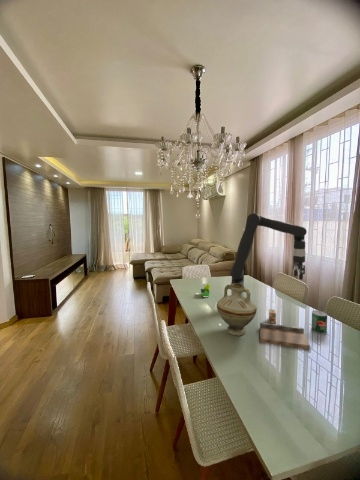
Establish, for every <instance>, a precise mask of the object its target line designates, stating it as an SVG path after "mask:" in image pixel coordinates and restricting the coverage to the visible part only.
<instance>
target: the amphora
mask: <svg viewBox="0 0 360 480" xmlns="http://www.w3.org/2000/svg"><path fill="white" fill-rule="evenodd" d="M229 290H230V291H231V290H232V291H233V294H232V295H231V294H230V295H228V291H229ZM223 292H224V293H223V296H222V297H221V299H219V300H218V301H217V302H216V310H217V312H218V314H219V316H220V318H221V319H222V320H223V322H225V323H226V324H227V325H228V326H227V329H226V332H227V333H228V332H229V334H230V335H232V336H235V335H237V337H240V335H241V336H243V335H245V334H246V328H245V327H246V326H247V325H249V324H250V323H251V322H252V320H254V318H255V316H256V314H257V309H258V307H257V305H256V303H254V302H253V301H252V300H251V291H250V289H249V288H247V287H245V285H242V284H237V283H233V284H231V283H230V284H227V285H226V286H225V287H224V291H223ZM242 292H243V293H246V296H242V295H241V293H242Z"/></svg>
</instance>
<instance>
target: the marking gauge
mask: <svg viewBox="0 0 360 480" xmlns="http://www.w3.org/2000/svg"><path fill="white" fill-rule="evenodd" d="M268 322H269V323H268V324H276V325H277V311H276V309H271V308H270V309H268Z"/></svg>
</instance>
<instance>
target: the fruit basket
mask: <svg viewBox="0 0 360 480" xmlns="http://www.w3.org/2000/svg"><path fill="white" fill-rule="evenodd" d="M210 290H211V285H210V284H209V283H207V284H206V285H204V288H200V293H201V294H200V295H201V297H202V296H208V297H209V296H210Z"/></svg>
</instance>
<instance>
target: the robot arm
mask: <svg viewBox="0 0 360 480" xmlns="http://www.w3.org/2000/svg"><path fill="white" fill-rule="evenodd" d="M245 222H246V223H245V228H244V231H243V233H242V236H241V238H240V239H239V244H238V247H237V250H236V255H235V260H234V262H233V264H232V265H233V266H232V267H231V269H230V276H231V283H230V285H231V284H233V283H237V284H242V285H244V284H245V283H244V282H245V269H244V268H245V264H246V262H247V260H248V257H249V255H250V253H251V251H252V247H253V244H254V239H255V234H256V231H257V228H258V226H259V227H265V228H268V229H271V230H274V231H277V232H280V233H285V234H290V235H293V250H292V270H293V276H294V277H298V280H301V281H303V280H304V279H303V278H304V275H305V274H306V265H305V264H304V265H303V263H305V262H306V241H305V238H306V237H305V235H307V231H308V230H307V229H306V227H304V226H301V225H296V224H292V223H288V222H286V221H285V222H284V221H280V220H275V219H271V218H266V217H263V216H261V215H259V214H258V213H253V212H252V213H249V215H247V217H246V221H245ZM244 286H245V285H244ZM230 291H231V292H230V295H232V294H233V291H232V290H231V289H230ZM244 293H245V292H242V293H241V295H242V296H244ZM244 297H245V296H244Z"/></svg>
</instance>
